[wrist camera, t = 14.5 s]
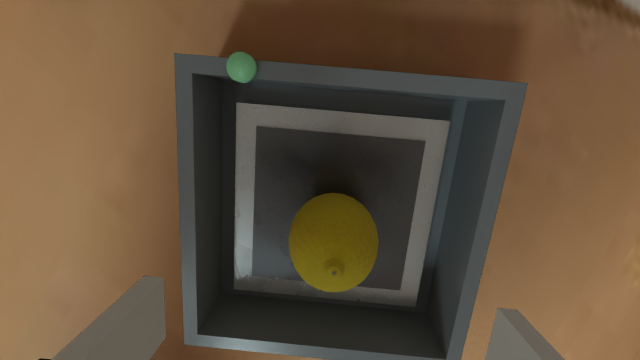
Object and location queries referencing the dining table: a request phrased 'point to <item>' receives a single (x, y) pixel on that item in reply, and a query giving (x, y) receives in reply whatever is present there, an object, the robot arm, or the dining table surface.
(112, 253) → the dining table surface
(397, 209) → the gray picture frame
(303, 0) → the dining table surface
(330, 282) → the lemon
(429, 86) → the gray open box
